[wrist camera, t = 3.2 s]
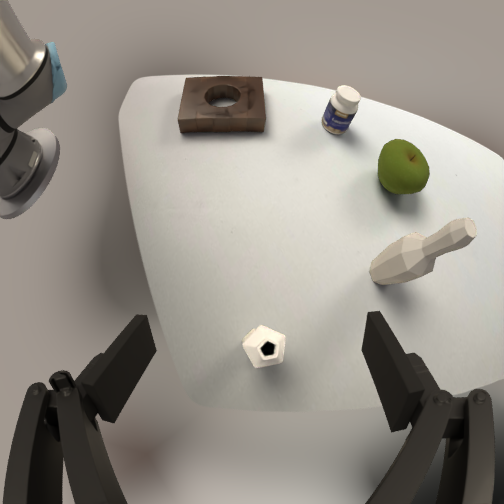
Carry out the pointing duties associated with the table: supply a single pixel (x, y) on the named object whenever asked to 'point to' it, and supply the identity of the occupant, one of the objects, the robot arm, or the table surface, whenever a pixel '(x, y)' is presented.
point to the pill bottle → (341, 110)
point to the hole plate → (222, 118)
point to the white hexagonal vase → (264, 346)
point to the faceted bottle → (420, 252)
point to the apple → (402, 167)
